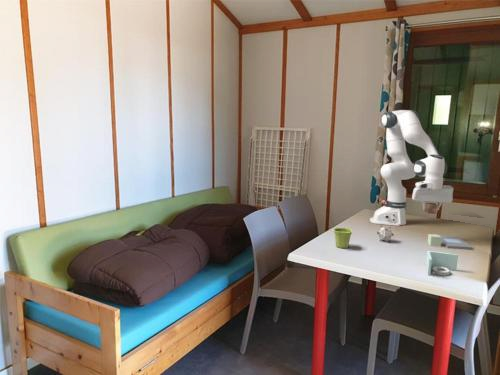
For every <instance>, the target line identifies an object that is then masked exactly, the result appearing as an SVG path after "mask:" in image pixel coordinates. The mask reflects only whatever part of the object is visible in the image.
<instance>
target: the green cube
mask: <svg viewBox="0 0 500 375" xmlns="http://www.w3.org/2000/svg"><path fill="white" fill-rule="evenodd" d="M439 235H440V234H433V233H432V234H430V233H428V237H427V244H428V245H429V246H433V247H441V245H442V243H441V238H442V237H441V236H442V235H441V236H439Z"/></svg>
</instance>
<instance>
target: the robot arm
mask: <svg viewBox="0 0 500 375" xmlns="http://www.w3.org/2000/svg"><path fill="white" fill-rule="evenodd" d="M381 125H382V126H383V128H385V129H386V135H385V139H386V150H387V155H388V156H389V157H390V158H391V159H392V161H393V162H389V163H386V164H385V163H384V164H382V166H381V168H380V176H381V178H382V179H384V181H385V183H386V186H387V199H386V200H385V199H383V200H382V201H381V203H383V206H381V207H379V208H377V209H376V210H375V211H374V214H373V216H372V217H370V218H369V222H371V223H372V224H375V225H376V224H377V225H386V226H394V227H395V226H397V227H400V226H403V225H406V224H407V220H406V209H407V201H406V200H407V188H405V186H403V184H402V180H410V179H413V178H415V177H416V176H417V177H425V178H424V180H423V181H417V182H415V185H414V186H415V187H414V188H413V191H412V195H411V198H412V200H413V201H414V202H421V204H422V209H423V210H424V211H425V210H427V206H425V203H437V205H438V209H437V211H439V210H440V208H441V206H442V205H443V203H446V204H447V203H448V204H451V203H452V202H453V199H454V198H453V193H454V187H453V186H452V185H445V184H444V185H443V183H444V176H445V174H446V173H447V172H448V165H447V163H446V161H445V157H443V156H442V155H441V154H440V152H439V151H438V148H437V147H436V145H435V143H434V142H433V139H432V138H431V137H430V136H429V134H427V133H426V132H425V131H424V129H423V127H422V124H421V121H420V119H419V114H418V112H417V111H416V110H413V109H408V110H407V109H399V110H392V111H386V112H384V113H383V114H382V115H381ZM406 142H407V143H408V144H411V145H413V146H417V147H418V148H421V149H423V150H424V151H425V153H426V155H427V157H425V158H422V159H418V160H416V161H415V162H412V161H411V159H410V157H409V155H408V153H407V147H406Z"/></svg>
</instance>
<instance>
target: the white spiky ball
mask: <svg viewBox="0 0 500 375" xmlns="http://www.w3.org/2000/svg"><path fill="white" fill-rule="evenodd" d="M391 228H392V227H391V226H390V227H386V226H385V227H383V226H382V225H380V229H379V231H377V233H376V234H377V235H378V237H379V242H381V241H386V242H389V243H390V242H391V238H392V236H394V235H395V234H394V233H393V232H392V229H391Z"/></svg>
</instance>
